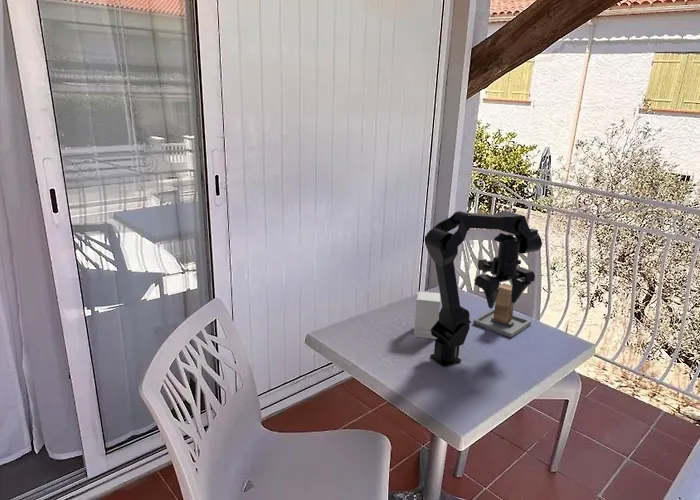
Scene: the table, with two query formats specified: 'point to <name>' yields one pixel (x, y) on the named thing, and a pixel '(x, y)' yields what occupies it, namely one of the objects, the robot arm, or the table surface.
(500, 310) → the tan slab
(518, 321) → the box
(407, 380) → the table surface
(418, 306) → the supplement box
